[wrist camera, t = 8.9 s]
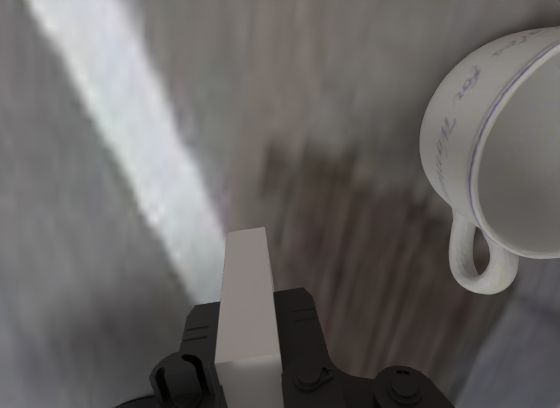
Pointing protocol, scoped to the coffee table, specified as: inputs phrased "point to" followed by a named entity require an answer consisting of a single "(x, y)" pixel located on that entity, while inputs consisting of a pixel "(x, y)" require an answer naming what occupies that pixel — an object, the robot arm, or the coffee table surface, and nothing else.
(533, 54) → the teacup
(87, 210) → the coffee table surface
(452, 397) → the coffee table surface
